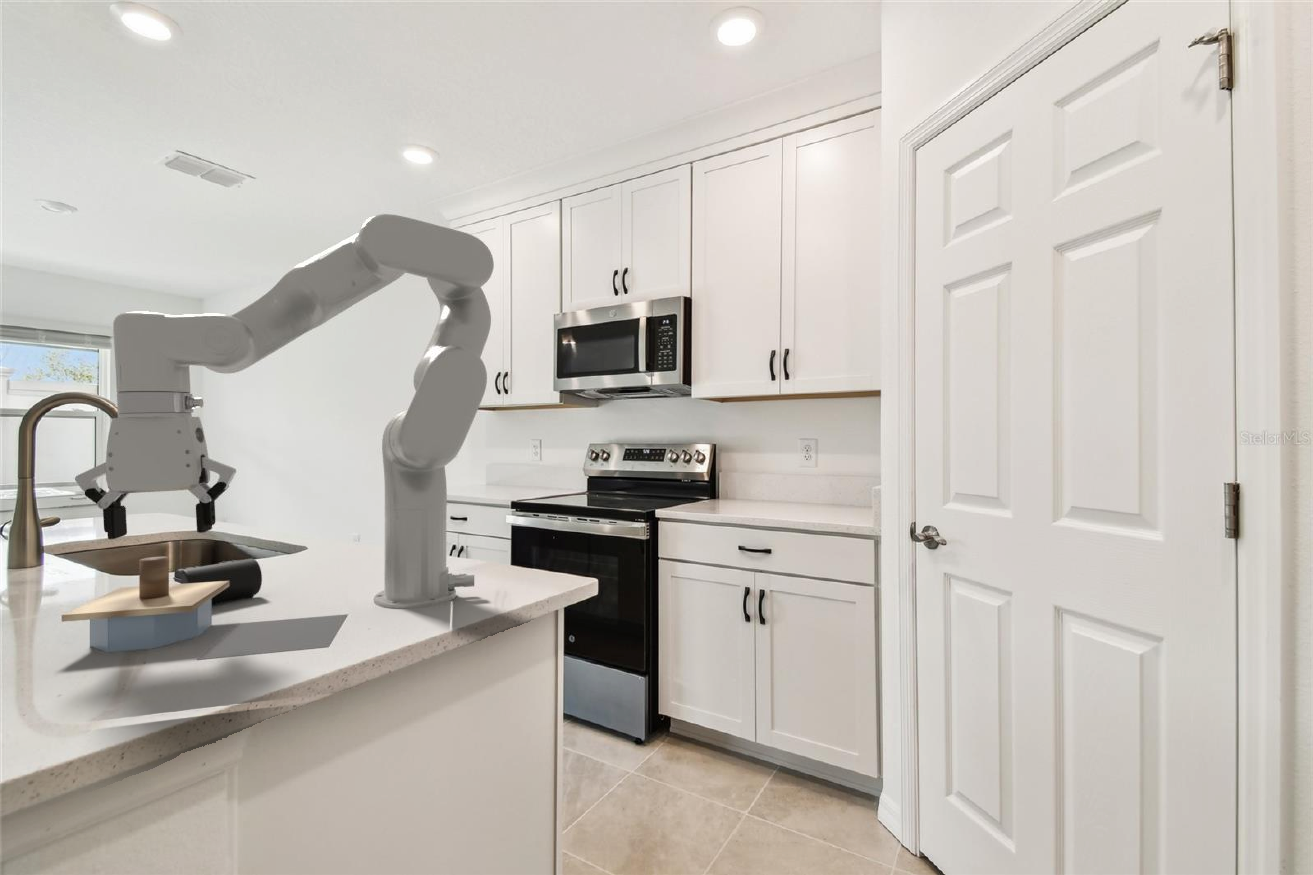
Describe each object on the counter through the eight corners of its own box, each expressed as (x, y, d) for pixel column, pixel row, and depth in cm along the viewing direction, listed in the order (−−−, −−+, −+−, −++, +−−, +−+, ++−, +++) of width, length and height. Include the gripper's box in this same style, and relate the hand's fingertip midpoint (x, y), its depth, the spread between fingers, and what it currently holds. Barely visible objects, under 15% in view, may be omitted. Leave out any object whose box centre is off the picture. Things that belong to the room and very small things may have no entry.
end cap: (189, 617, 88) (189, 572, 88) (170, 609, 92) (170, 566, 92) (262, 601, 97) (262, 560, 97) (242, 594, 101) (242, 555, 101)
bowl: (220, 621, 86) (220, 587, 86) (186, 649, 75) (186, 610, 75) (124, 629, 82) (123, 594, 82) (73, 659, 71) (73, 619, 71)
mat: (347, 618, 88) (347, 614, 88) (328, 651, 75) (328, 646, 75) (238, 627, 84) (238, 623, 83) (196, 664, 70) (196, 659, 70)
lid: (229, 586, 87) (229, 547, 87) (191, 611, 75) (191, 566, 74) (120, 593, 83) (120, 552, 83) (61, 621, 70) (61, 573, 70)
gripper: (241, 406, 85) (246, 524, 85) (90, 408, 79) (97, 534, 80) (221, 405, 78) (227, 533, 78) (54, 407, 72) (62, 545, 73)
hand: (162, 534), depth 79 cm, fingers open, 9 cm apart
